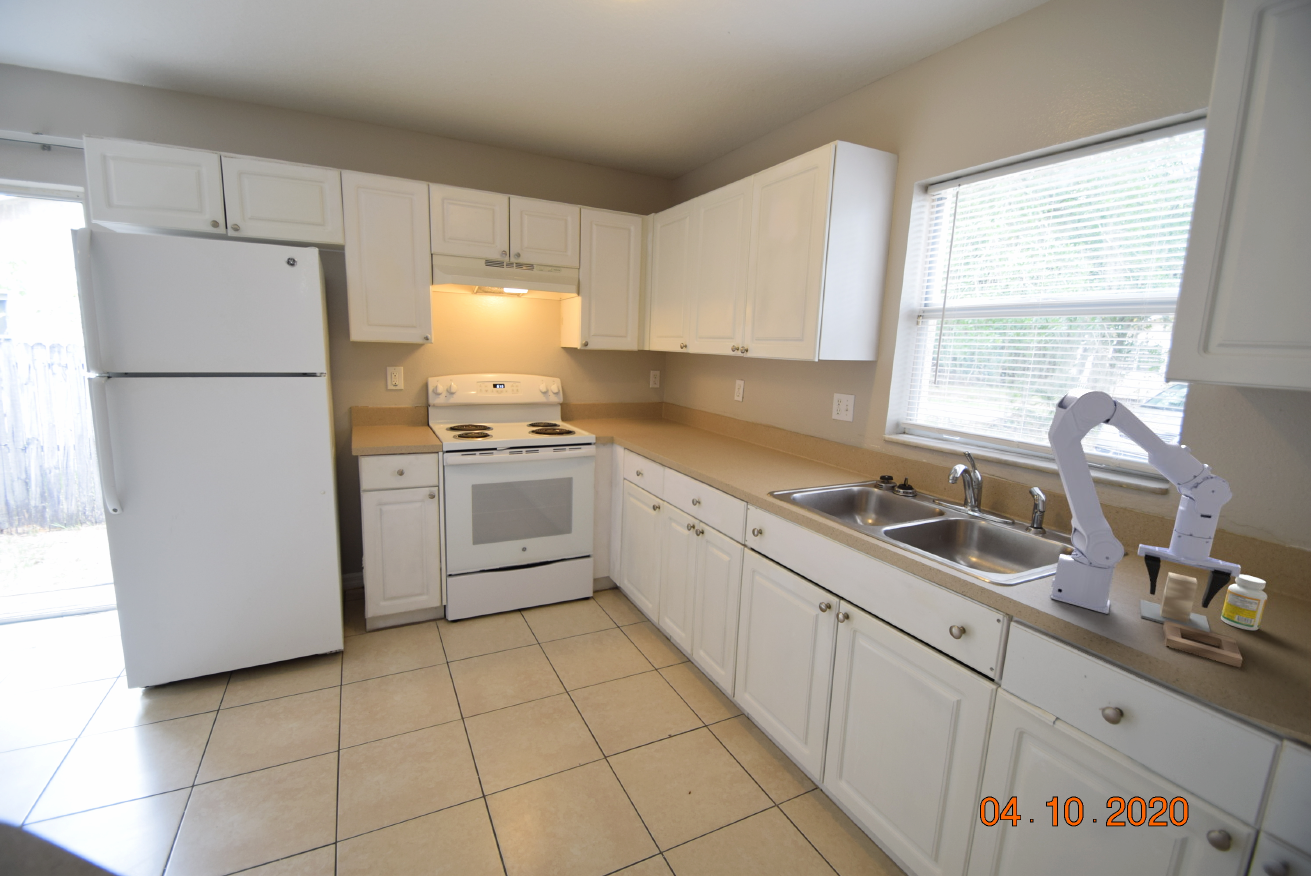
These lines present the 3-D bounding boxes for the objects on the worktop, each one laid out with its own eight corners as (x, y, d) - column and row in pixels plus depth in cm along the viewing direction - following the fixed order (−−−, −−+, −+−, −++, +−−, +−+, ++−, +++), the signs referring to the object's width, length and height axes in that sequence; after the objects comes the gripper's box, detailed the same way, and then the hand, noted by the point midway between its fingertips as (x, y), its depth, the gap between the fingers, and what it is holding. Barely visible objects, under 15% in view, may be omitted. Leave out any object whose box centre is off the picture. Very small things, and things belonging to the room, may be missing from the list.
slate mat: (1140, 617, 112) (1141, 615, 112) (1140, 601, 120) (1140, 599, 120) (1210, 636, 106) (1211, 633, 106) (1205, 618, 114) (1205, 616, 114)
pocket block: (1165, 645, 101) (1167, 638, 101) (1163, 627, 109) (1164, 620, 108) (1240, 667, 96) (1242, 659, 95) (1232, 646, 103) (1234, 638, 102)
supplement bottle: (1241, 631, 109) (1254, 583, 108) (1212, 617, 115) (1223, 572, 113) (1266, 631, 110) (1279, 584, 108) (1236, 617, 115) (1247, 572, 114)
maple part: (1160, 615, 113) (1169, 577, 111) (1160, 609, 116) (1168, 571, 114) (1188, 623, 110) (1197, 584, 109) (1186, 616, 113) (1195, 578, 112)
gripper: (1144, 528, 112) (1130, 593, 114) (1249, 549, 103) (1231, 619, 105) (1144, 521, 117) (1130, 583, 119) (1243, 540, 108) (1226, 607, 110)
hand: (1177, 599), depth 112 cm, fingers open, 7 cm apart
